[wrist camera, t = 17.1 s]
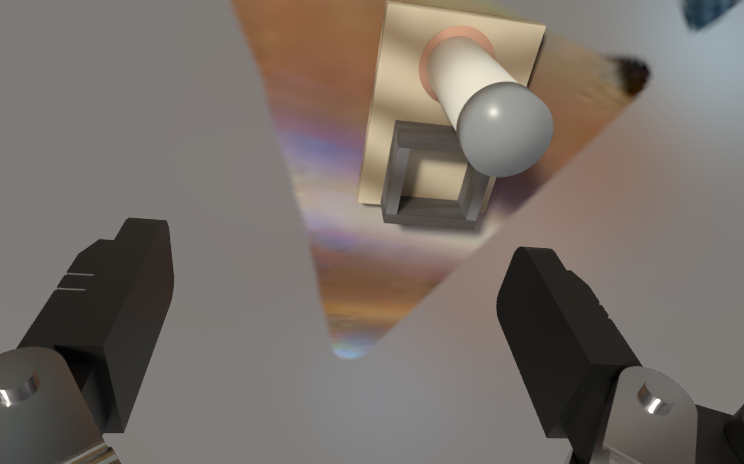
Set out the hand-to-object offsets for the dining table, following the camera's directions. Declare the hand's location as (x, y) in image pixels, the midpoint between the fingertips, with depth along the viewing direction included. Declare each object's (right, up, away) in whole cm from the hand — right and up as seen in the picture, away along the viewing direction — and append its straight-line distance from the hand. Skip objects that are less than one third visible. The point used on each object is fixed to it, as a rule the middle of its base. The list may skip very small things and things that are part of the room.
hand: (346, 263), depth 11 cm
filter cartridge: (+8, +14, +29) cm, 33 cm away
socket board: (+7, +11, +33) cm, 36 cm away
